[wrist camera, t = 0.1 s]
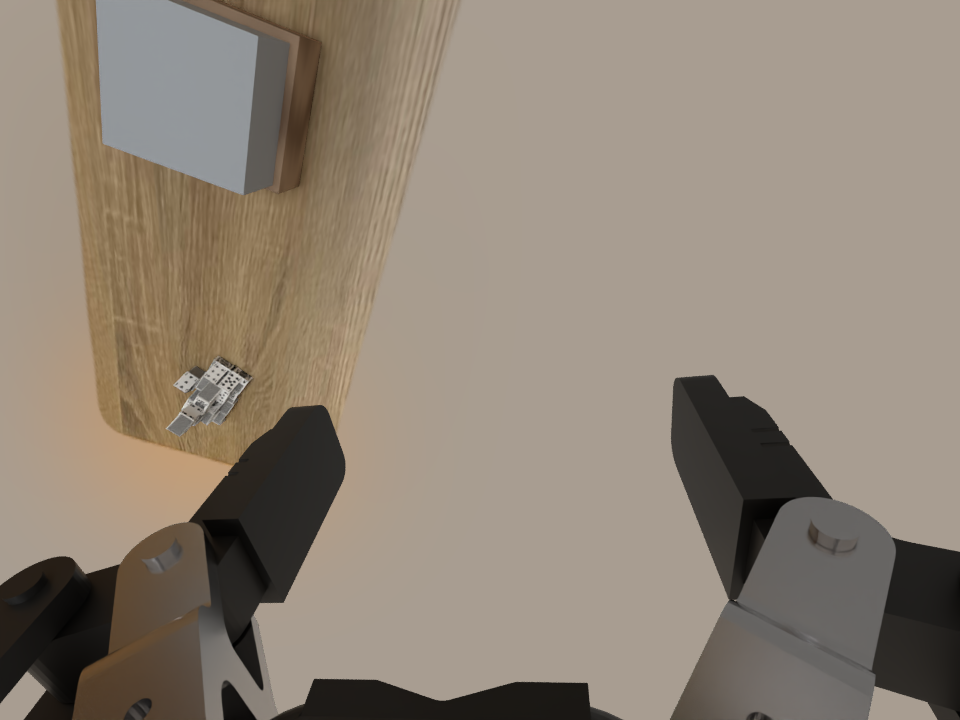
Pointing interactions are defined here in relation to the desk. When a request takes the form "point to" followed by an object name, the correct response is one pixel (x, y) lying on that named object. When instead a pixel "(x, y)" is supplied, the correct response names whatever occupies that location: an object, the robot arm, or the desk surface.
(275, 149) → the top block
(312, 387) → the desk surface
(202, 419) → the house of cards
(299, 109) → the base block
